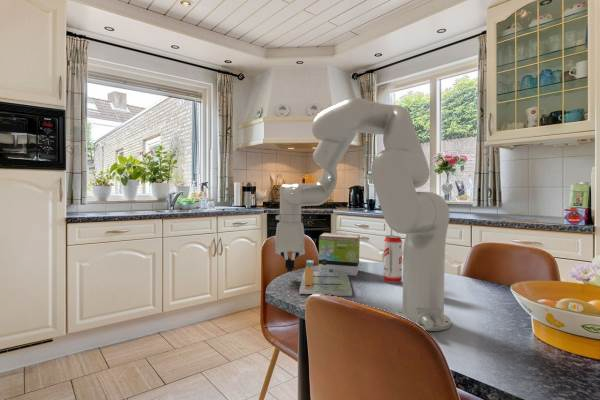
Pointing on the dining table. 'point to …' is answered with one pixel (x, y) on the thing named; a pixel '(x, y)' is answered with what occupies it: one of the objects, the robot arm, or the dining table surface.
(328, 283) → the console
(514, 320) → the dining table surface
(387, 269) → the beer can
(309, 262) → the fader teal
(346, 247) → the tea box
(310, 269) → the fader orange
